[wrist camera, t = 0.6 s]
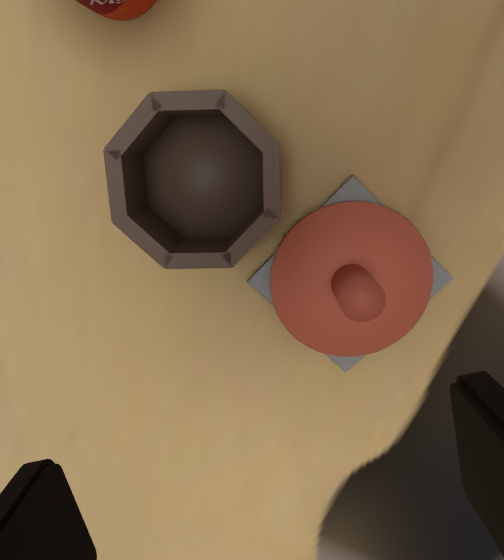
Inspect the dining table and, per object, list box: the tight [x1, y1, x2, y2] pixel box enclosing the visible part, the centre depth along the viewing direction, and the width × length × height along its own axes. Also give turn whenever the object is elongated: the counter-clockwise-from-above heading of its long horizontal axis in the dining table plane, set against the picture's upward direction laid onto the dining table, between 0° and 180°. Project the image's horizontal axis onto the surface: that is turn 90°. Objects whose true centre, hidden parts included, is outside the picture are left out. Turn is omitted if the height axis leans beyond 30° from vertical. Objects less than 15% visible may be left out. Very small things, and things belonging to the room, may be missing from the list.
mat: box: [247, 175, 453, 372], centre depth 33 cm, size 11×11×1 cm
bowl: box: [103, 90, 280, 269], centre depth 29 cm, size 10×10×6 cm
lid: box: [270, 201, 433, 357], centre depth 31 cm, size 12×12×5 cm
